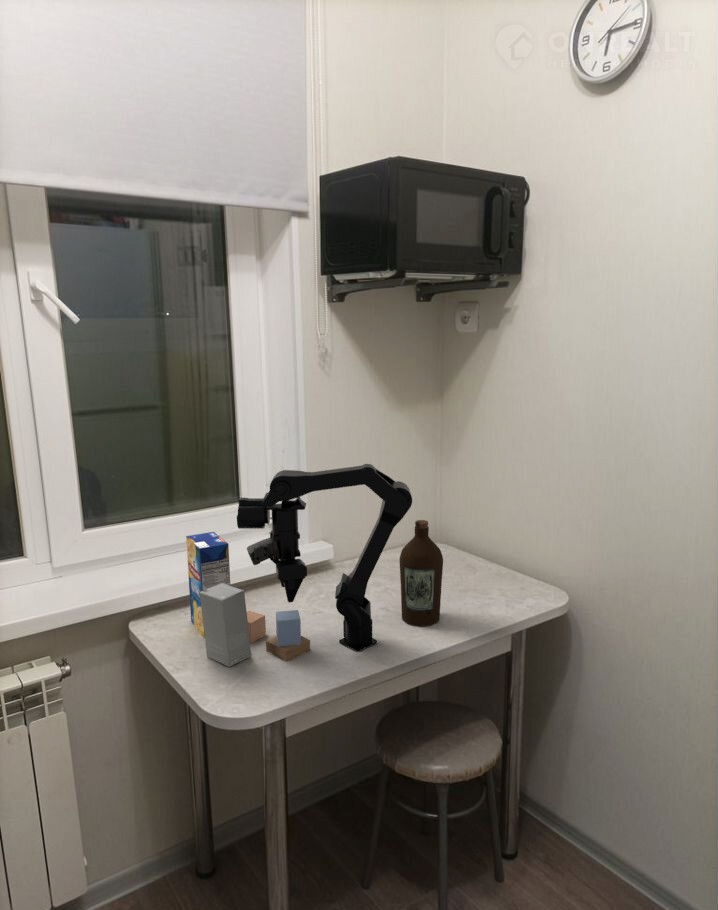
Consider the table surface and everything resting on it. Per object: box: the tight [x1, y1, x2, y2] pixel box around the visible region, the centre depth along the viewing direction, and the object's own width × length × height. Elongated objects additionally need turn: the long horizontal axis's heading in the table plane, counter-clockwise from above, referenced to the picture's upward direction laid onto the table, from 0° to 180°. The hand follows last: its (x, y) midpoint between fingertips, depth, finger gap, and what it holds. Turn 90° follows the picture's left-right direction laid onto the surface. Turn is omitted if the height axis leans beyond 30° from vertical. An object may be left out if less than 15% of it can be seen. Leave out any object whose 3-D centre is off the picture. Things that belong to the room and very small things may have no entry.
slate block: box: [275, 609, 302, 647], centre depth 152 cm, size 5×5×6 cm
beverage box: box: [185, 531, 231, 639], centre depth 164 cm, size 7×11×22 cm, turn 30°
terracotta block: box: [246, 610, 267, 644], centre depth 160 cm, size 5×5×5 cm
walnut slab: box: [265, 635, 311, 662], centre depth 153 cm, size 7×7×3 cm
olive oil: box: [399, 519, 444, 627], centre depth 167 cm, size 11×11×25 cm
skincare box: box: [200, 583, 252, 668], centre depth 149 cm, size 8×7×16 cm
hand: (287, 594), depth 155 cm, fingers open, 9 cm apart
